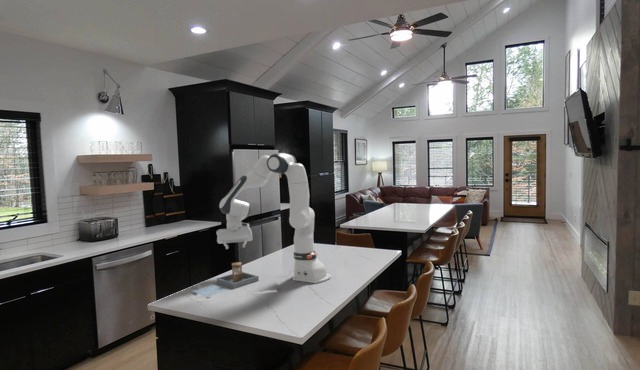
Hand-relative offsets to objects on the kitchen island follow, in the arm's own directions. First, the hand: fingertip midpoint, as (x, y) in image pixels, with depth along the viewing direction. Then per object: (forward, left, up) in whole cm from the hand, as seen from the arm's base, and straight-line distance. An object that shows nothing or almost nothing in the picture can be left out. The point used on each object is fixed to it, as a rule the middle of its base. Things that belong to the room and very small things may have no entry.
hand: (235, 247), depth 220 cm
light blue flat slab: (-10, +24, -17) cm, 31 cm away
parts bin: (-10, +7, -17) cm, 21 cm away
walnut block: (-10, +7, -16) cm, 20 cm away
